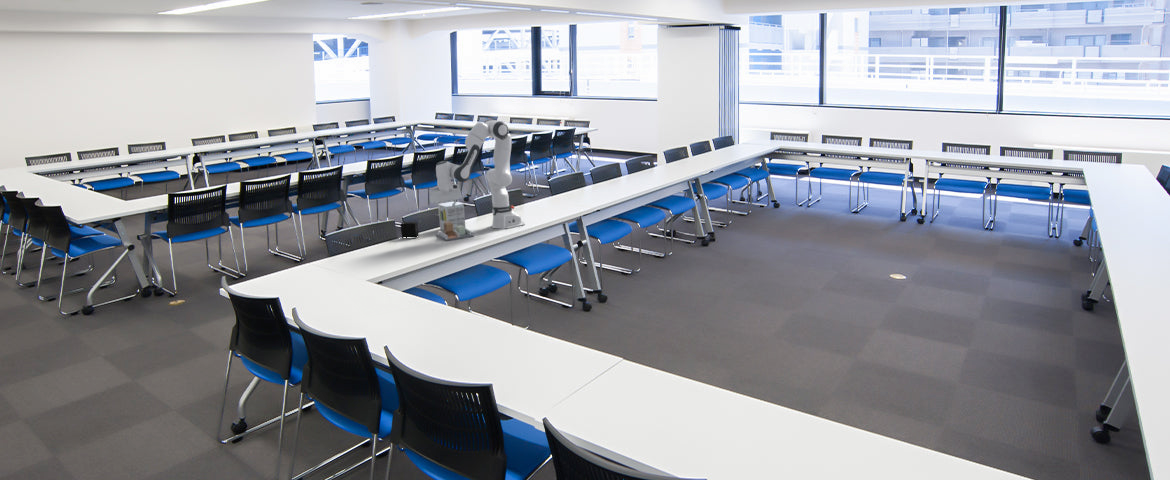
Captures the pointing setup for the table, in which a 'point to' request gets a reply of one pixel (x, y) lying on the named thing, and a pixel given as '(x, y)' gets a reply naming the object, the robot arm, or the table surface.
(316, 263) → the table surface
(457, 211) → the supplement box
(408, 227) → the electronic device
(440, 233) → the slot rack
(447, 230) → the walnut plug
